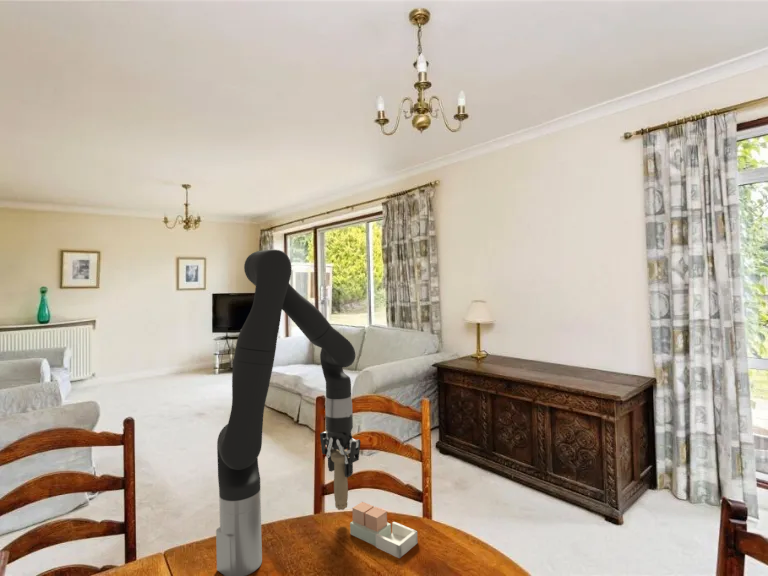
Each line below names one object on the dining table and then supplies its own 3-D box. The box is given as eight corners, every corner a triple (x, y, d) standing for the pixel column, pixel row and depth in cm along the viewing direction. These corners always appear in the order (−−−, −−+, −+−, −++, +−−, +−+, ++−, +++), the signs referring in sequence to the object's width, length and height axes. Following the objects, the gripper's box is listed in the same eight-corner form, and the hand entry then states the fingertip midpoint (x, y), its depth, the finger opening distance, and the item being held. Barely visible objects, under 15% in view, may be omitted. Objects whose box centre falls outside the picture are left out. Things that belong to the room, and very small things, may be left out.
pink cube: (363, 526, 107) (363, 512, 107) (352, 521, 110) (352, 507, 110) (373, 519, 111) (373, 506, 111) (362, 514, 113) (362, 501, 113)
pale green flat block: (376, 546, 103) (376, 534, 104) (350, 534, 109) (350, 522, 109) (391, 535, 108) (390, 523, 108) (365, 524, 114) (365, 513, 114)
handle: (331, 514, 112) (329, 458, 112) (333, 502, 118) (332, 449, 119) (349, 513, 112) (347, 457, 112) (350, 501, 119) (349, 448, 119)
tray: (399, 558, 99) (399, 545, 99) (375, 547, 103) (375, 535, 103) (417, 543, 104) (417, 531, 105) (394, 533, 109) (394, 521, 109)
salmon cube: (377, 531, 105) (376, 518, 105) (365, 526, 107) (365, 513, 107) (387, 524, 108) (386, 511, 108) (375, 519, 110) (375, 506, 110)
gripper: (311, 411, 117) (312, 471, 117) (348, 420, 108) (349, 485, 108) (330, 405, 123) (332, 462, 123) (367, 413, 114) (368, 475, 114)
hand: (340, 473), depth 115 cm, fingers closed on handle, 5 cm apart
